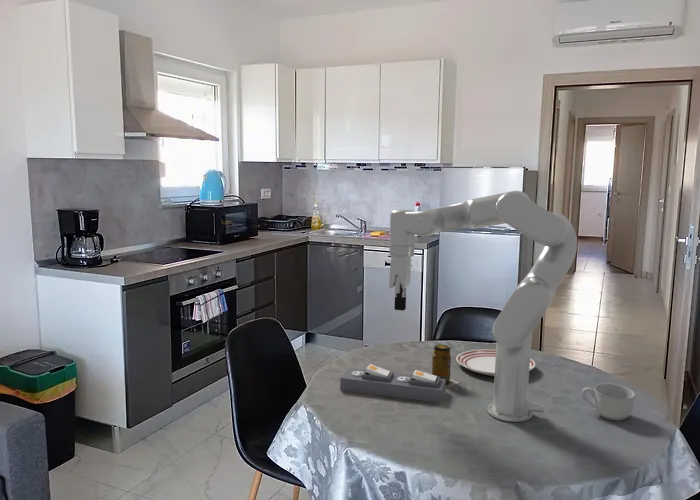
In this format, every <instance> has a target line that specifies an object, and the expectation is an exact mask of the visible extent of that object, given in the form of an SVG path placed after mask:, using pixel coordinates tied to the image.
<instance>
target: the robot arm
mask: <svg viewBox="0 0 700 500" xmlns="http://www.w3.org/2000/svg"><path fill="white" fill-rule="evenodd" d="M389 216H390V219H389V254H388V255H389V256H390V257H391V258H390V265H389V266H390V267H389V276H388V277H389V278H388V279H389V281H388V287H389V289H393V288H394V310H395V311H405V310H406V309H407V308H406V306H407V287H408V286H409V285H410V282H411V269H412V265H411V264H412V259H411V258H412V257H414V256H415V243H416V242H415V239H416V238H415V237H416V236H420V237H429V236H432V235H434V234H439V233H443V232H448V231H454V230H460V229H471V230H474V229H481V228H482V229H483V228H487V227H492V226H498V225H504V224H507V225H508V226H509V227H511V228H513V229H514V230H516V231H517V232H519V233H521V234H522V235H524V236H526V237H527V238H528V239H530V240H532V241H534V242H536V243H537V244H539V245H541V246H543V248H542V250H541V252H540V254H539V256H538V257H537V259H536V260H535V262H534V264H533V266H532V267H531V269H529V272H528V273H527V274H526V276H525V277H524V278H523V279H522V280H521V281H520V282H519V283H518V285H517V286H516V288H515V290H514V291H513V293H512V294H511V296H510V297H509V299H508V301H506V303H505V305H504V306H503V308H502V310H500V313H499V314H498V316H497V318H496V319H495V321H494V322H493V325H492V336H493V338H494V340H495V342H496V347H495V348H496V349H495V350H496V360H495V376H494V379H493V381H494V382H493V396H492V397H493V400H492V402H491V403H489V404H488V405H487V412H488V414H489V415H490V416H492V417H493V418H496V419H497V420H501V421H504V422H511V423H520V422H526V421H529V420H531V419H532V417H533V413H534V412H535V413H540V414H544V413H545V412H544V409H545V406H544V405H540V402H539V403H538V402H531V401H529V400H530V398H529V396H528V395H529V381H530V380H529V379H530V371H529V368H530V358H531V355H532V354H531V353H532V352H531V350H532V340H533V332H534V330H535V329H536V327H537V326H538V324H539V322H540V321H541V319H542V318H543V316H544V315H545V313H546V311H547V310H548V308H549V307H550V305H551V302H552V299H553V296H554V294H555V293H556V291H557V289H558V288H559V286H560V285H561V283H562V281H563V280H564V278H565V276H566V275H567V273H568V271H569V269H571V266H572V264H573V262H574V260H575V258H576V254H577V249H578V239H577V234H576V230H575V228H574V227H573V225H572V223H571V221H570V220H569V218H567V216H565V215H563V213H560V212H557V211H554V212H551V211H549V210H547V209H545V208H543V207H542V206H540V205H538V203H535V202H533V201H532V200H531V199H530V197H529V195H528V194H527V193H525V192H524V191H521V190H512V191H507V192H501V193H497V194H492V195H487V196H482V197H477V198H472V199H467V200H465V201H463V202H460V203H456V204H452V205H451V204H450V205H446V206H440V207H435V208H430V209H425V210H420V211H413V210H411V209H394V210H392V211H391V212H390V215H389Z"/></svg>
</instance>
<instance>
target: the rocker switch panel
mask: <svg viewBox="0 0 700 500" xmlns="http://www.w3.org/2000/svg"><path fill="white" fill-rule="evenodd" d="M389 371H390V374H389V376H388V377H382V376H376V375H373V374H370V373H368V372H366V369H363V368H362V369H361V368H355V367H349V368H348V369H346V371H345V372H344V373H343V375H341V377H339V378H340V379H339V381H340V383H339V384H340V385H339V388H340V389H339V390H340V391H344V392H353V393H360V394H361V393H362V394H367V395H376V396H384V397H391V398H392V397H393V398H398V399H406V400H413V401H424V402H429V403H436V404H437V403H438V404H442V402H443V398H444V396H445V393H446V388H447V387H446V379H441V378H440V377H437V379H436V381H435V383H432V382H424V381H420V380H417V379H414V378H412V376H413V373H412V374H406V373H397V372H396V373H395V371H392V370H389Z"/></svg>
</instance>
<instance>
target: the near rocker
mask: <svg viewBox="0 0 700 500" xmlns="http://www.w3.org/2000/svg"><path fill="white" fill-rule="evenodd" d="M412 374H413V376H412V378H414V379H417V380H420V381H424V382H432V383H435V381H436V379H437V376H435V375H432V373H428V372H424V371H422V370H418V369H415V370H414V371H413V373H412Z"/></svg>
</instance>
